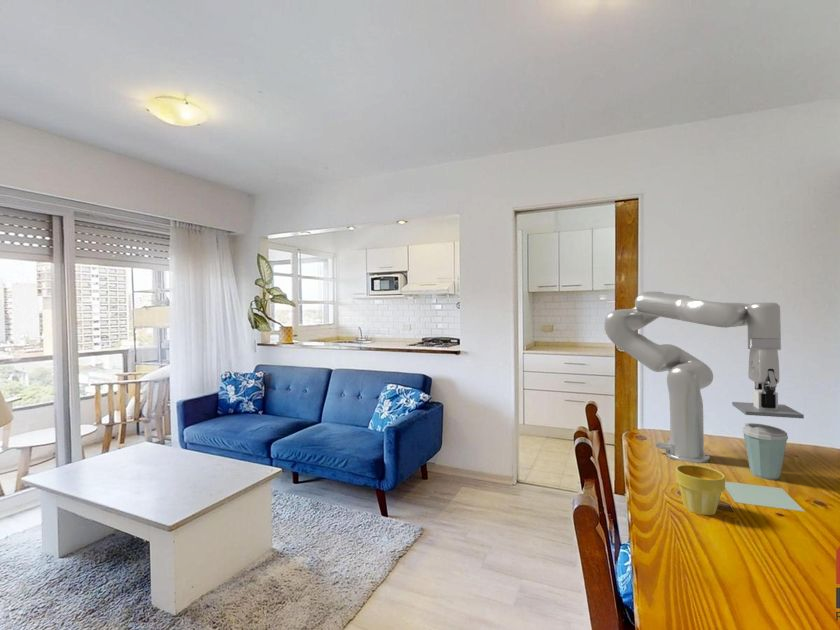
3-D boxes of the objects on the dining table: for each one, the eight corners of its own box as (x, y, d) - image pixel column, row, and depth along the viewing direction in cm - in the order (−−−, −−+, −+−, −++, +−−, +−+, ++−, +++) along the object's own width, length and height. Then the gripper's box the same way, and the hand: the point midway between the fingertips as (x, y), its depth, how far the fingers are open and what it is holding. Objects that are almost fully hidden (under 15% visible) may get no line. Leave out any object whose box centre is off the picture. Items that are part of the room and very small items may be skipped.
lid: (745, 414, 119) (745, 394, 119) (732, 405, 131) (732, 386, 131) (803, 418, 114) (803, 396, 114) (784, 407, 126) (784, 388, 125)
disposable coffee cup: (781, 472, 125) (780, 423, 125) (795, 487, 115) (795, 433, 115) (738, 467, 130) (737, 420, 130) (748, 481, 120) (747, 429, 120)
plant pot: (717, 503, 107) (716, 466, 107) (732, 523, 97) (732, 482, 97) (671, 498, 110) (670, 462, 110) (682, 516, 101) (681, 477, 101)
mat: (735, 503, 107) (735, 502, 107) (720, 482, 120) (720, 480, 120) (805, 513, 101) (804, 511, 101) (781, 489, 114) (781, 488, 114)
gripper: (739, 341, 131) (740, 399, 131) (758, 346, 116) (759, 411, 116) (769, 342, 128) (770, 400, 128) (792, 346, 113) (793, 413, 113)
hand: (765, 405), depth 122 cm, fingers closed on lid, 4 cm apart
